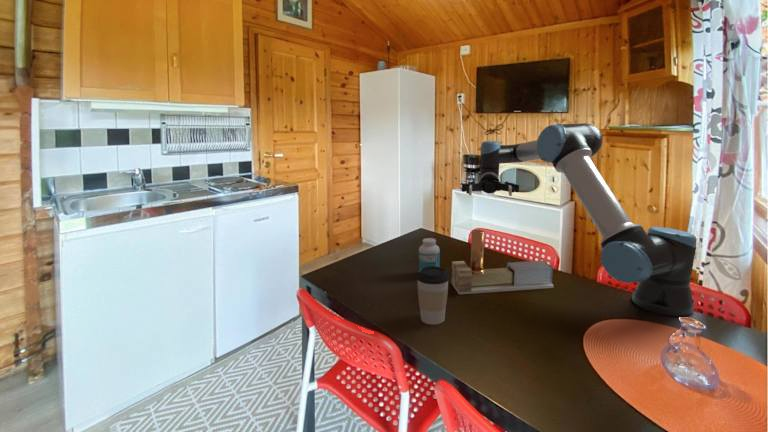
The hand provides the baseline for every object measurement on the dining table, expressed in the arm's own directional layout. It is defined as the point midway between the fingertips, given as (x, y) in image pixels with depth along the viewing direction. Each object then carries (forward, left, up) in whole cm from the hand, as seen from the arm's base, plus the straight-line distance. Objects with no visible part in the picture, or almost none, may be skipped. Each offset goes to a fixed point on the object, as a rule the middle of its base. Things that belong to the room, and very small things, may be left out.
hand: (490, 191), depth 143 cm
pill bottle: (+1, +21, -30) cm, 37 cm away
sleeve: (-12, -10, -30) cm, 34 cm away
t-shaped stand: (-12, +4, -29) cm, 31 cm away
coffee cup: (-31, +27, -30) cm, 51 cm away
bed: (-12, -1, -30) cm, 32 cm away
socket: (-12, +13, -30) cm, 35 cm away
